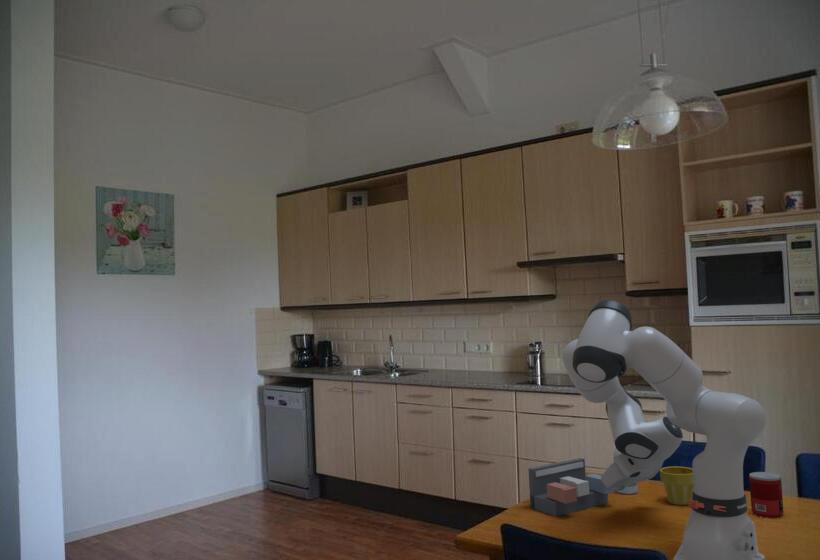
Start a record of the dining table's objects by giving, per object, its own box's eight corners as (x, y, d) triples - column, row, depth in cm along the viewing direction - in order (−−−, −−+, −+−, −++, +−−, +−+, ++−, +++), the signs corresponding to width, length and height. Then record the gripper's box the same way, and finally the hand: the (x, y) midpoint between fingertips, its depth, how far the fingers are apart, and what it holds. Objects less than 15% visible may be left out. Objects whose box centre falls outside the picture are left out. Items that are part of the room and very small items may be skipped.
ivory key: (589, 494, 199) (588, 481, 199) (578, 497, 196) (577, 483, 196) (570, 488, 206) (569, 475, 206) (559, 491, 203) (558, 478, 203)
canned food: (787, 518, 182) (784, 478, 182) (756, 518, 183) (753, 478, 184) (778, 510, 189) (775, 471, 190) (748, 509, 191) (745, 471, 191)
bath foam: (616, 488, 219) (612, 428, 220) (638, 489, 217) (634, 428, 218) (615, 494, 213) (611, 431, 214) (637, 495, 210) (633, 432, 212)
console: (608, 502, 204) (605, 463, 204) (555, 516, 192) (553, 475, 193) (582, 495, 213) (580, 458, 214) (530, 508, 202) (528, 468, 202)
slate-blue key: (615, 491, 200) (614, 478, 201) (604, 494, 198) (603, 480, 198) (594, 486, 207) (594, 473, 208) (584, 488, 205) (583, 475, 205)
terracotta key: (577, 501, 192) (576, 487, 192) (565, 504, 190) (564, 490, 190) (557, 495, 199) (556, 481, 199) (546, 498, 197) (545, 484, 197)
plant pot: (657, 504, 200) (655, 471, 201) (667, 495, 208) (665, 464, 209) (693, 509, 194) (691, 475, 194) (701, 500, 202) (699, 468, 203)
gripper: (659, 446, 196) (635, 474, 204) (611, 456, 185) (588, 485, 193) (673, 464, 192) (647, 491, 199) (625, 475, 181) (600, 503, 189)
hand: (618, 488), depth 196 cm, fingers closed
